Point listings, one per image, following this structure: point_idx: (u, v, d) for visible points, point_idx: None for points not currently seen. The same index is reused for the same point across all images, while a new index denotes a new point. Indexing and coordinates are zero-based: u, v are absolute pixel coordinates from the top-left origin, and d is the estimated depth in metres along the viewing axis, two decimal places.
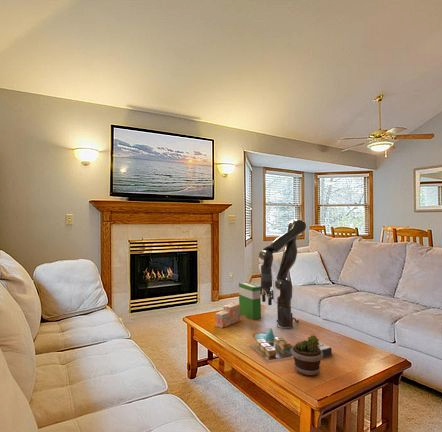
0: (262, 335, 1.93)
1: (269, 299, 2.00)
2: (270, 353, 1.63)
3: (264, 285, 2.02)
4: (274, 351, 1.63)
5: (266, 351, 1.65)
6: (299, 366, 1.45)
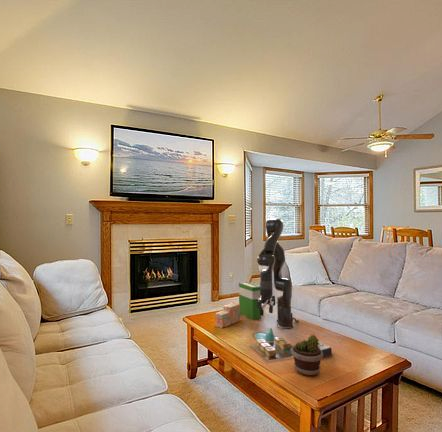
0: (262, 335, 1.93)
1: (259, 308, 1.80)
2: (270, 353, 1.63)
3: (260, 292, 1.83)
4: (274, 351, 1.63)
5: (266, 351, 1.65)
6: (299, 366, 1.45)
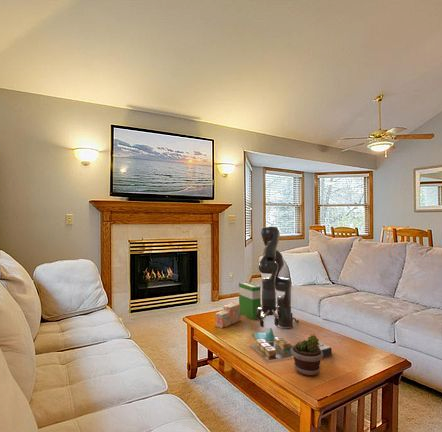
0: (262, 334, 1.93)
1: None
2: (270, 353, 1.63)
3: None
4: (274, 351, 1.63)
5: (266, 351, 1.65)
6: (299, 366, 1.45)
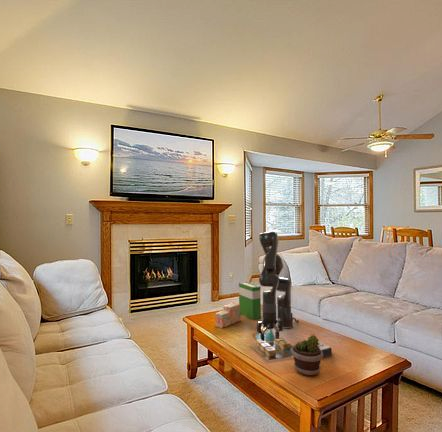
0: None
1: None
2: (270, 353, 1.63)
3: None
4: (274, 351, 1.63)
5: (266, 351, 1.65)
6: (299, 366, 1.45)
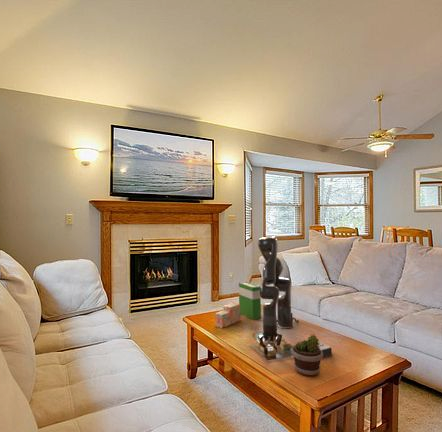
0: None
1: None
2: (270, 353, 1.63)
3: None
4: (274, 351, 1.63)
5: None
6: (299, 366, 1.45)
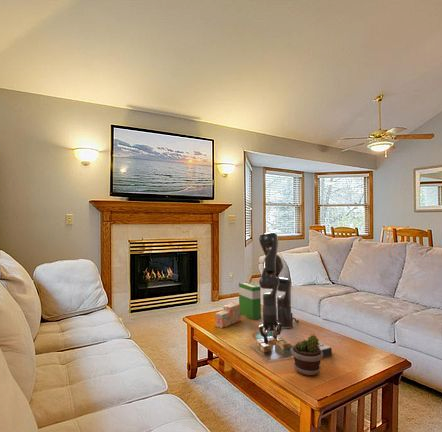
0: None
1: None
2: (270, 342, 1.63)
3: None
4: (274, 340, 1.64)
5: None
6: (299, 366, 1.45)
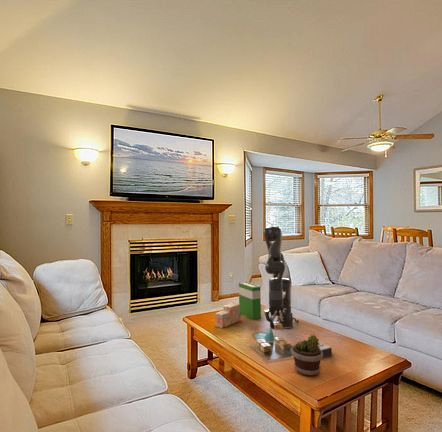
0: (262, 335, 1.94)
1: None
2: (276, 327, 1.64)
3: None
4: (280, 325, 1.65)
5: None
6: (299, 366, 1.45)
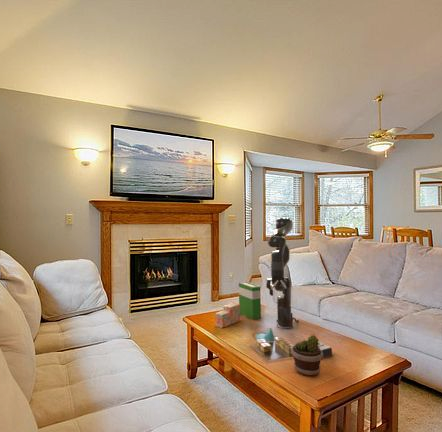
0: (262, 335, 1.94)
1: None
2: (290, 350, 1.65)
3: None
4: None
5: (286, 349, 1.67)
6: (299, 366, 1.45)
